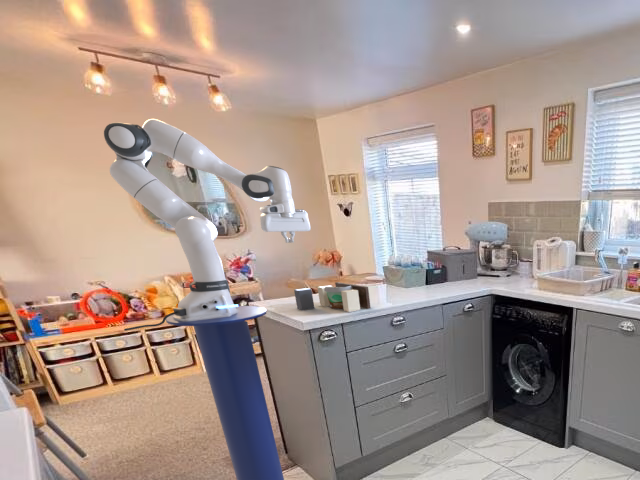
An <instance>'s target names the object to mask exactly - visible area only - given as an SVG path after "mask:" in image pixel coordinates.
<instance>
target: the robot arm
mask: <svg viewBox="0 0 640 480" xmlns="http://www.w3.org/2000/svg"><path fill="white" fill-rule="evenodd" d="M103 138H104V141H105V143H106V144H107V145H108V147H109V148H110V149H111V150H112V151H113V152H114V153H115V156H116V159H115V160H114V161H113V162H112V163H111V164H110V167H109V174H110V175H111V177H112V178H113V180H115V182H116V183H117V184H118V186H120V187H121V188H122V189H123V190H124V191H125V192H126V193H127V194H129V195H130V196H131V197H132V198H133V199H135V200H136V201H137V202H138V203H139V204H140V205H142V206H143V207H144V208H145V209H147V211H149V212H150V213H152V214H153V215H154V216H156V217H157V218H159V219H161V220H162V221H164V222H165V223H167V224H168V225H170V226H171V227H172V228H173V229H174V232H175V235H176V237H177V238H178V240H179V243H180V246H181V249H182V251H183V252H184V255H185V257H186V259H187V262H188V266H189V269H190V271H191V272H190V273H191V276H192V279H193V281H192V282H185V283H184V287H186V289H187V288H188V289H189V290H190V292H188V293H187V294H186V295H185V296H184V297H183V298H181V300H180V301H179V302H178V305H177V307H176V308H175V307H174V308H173V309H172V310H173V312H170V313H168V314H166V315H165V316H164V317H163V318H162V321H160V322H159V323H158V322H157V323H153V324H142V325H138V326H131V327H127V328H123V330H124V332H127V331H132V330H137V329H141V328H149V327H159V326H161V325H163V324H164V323H165V322H166V318H167V317H169V316H171V315H174V314H175V315H174V316H173V319H174V320H177V321H182V322H189V321H198V320H206V319H214V318H222V317H230V316H232V315H233V314H236V313H238V311H237V309H236V307H238V306H239V304H235V303H234V301H233V298H232V296H231V291H230V284H229V282H228V279H226V275H225V271H224V267H223V263H222V259H221V257H220V255H219V253H218V250H217V247H216V244H215V241H216V240H217V238H218V230H217V227H216V226H215V224H214V223H213V222H212V221H211V220H210V219H208V218H207V217H206V216H204V215H203V214H202V213H201V212H199V211H198V210H197V209H196V208H194V207H193V206H191V204H189V203H187V202H186V201H185V200H183V198H181V197H180V196H179V195H178V194H176V193H175V192H174V191H173V190H171V189H170V188H169V187H168V186H167V185H166V184H164V182H162V181H161V180H160V179H158V178H157V177H156V176H155V175H154V174H152V172H150V171H149V170H148V166H149V164H150V162H151V161H152V158H153V153H158V154H163V155H165V156H167V157H168V158H171V159H172V160H174V161H176V162H178V163H180V164H182V165H185V166H187V167H189V168H191V169H195V170H198V171H201V172H205V173H209V174H212V175H214V176H217V177H219V178H220V179H223V180H225V181H226V182H229V183H230V184H231V185H234V186H236V187H238V188H239V189H240V190H242V191H243V192H244V193H245V194H246V195H247V197H249V198H250V199H251V200H252V201H255V202H259V203H263V202H266V201H268V200H270V204H267V205H264V206H261V207H260V208H259V211H260V213H261V214H260V217H259V222H260V228H261V230H262V231H263V232H265V233H273V232H274V233H278V232H279V233H280V234H281V236H282V237H283V239H284V242H285V243H286V244H288V243H289V244H290V243H291V244H292V243H293V244H294V243H295V240H294V238H295V235H296V232H310V231H311V229H312V228H311V223H310V219H309V214H308V211H306V210H305V209H302V208H301V209H299V208H296V207H295V201H294V199H293V194H292V192H293V190H292V184H291V180H290V176H289V174H288V172H287V170H285V169H283V168H281V167H280V166H279V167H278V166H274V165H266V166H265V167H264V168H263V169H261V170H259V171H256V172H254V173H253V172H252V173H250V174H247V173H245V172H243V171H241V170H239V169H237V168H236V167H234V166H232V165H231V164H228V163H226V162H225V161H224V160H222V159H221V158H219V157H218V156H217V155H216V154H215V153H214V152H213V151H211V149H210V148H208V146H206V145H205V144H204V143H202V142H201V141H200V140H199V139H197V138H196V137H194V136H193V135H190V134H189V133H187V132H186V131H184V130H181V129H180V128H178V127H176V126H174V125H171V124H169V123H167V122H165V121H161V120H159V119H156V118H150V119H147V120H146V121H145V122H144V123H143V125H142V126H140V125H139V124H135V123H126V122H117V121H116V122H111V123H108V124H107V125H106V126H105V127H104V130H103ZM288 233H289V237H288V236H287V235H288Z"/></svg>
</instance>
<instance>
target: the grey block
mask: <svg viewBox="0 0 640 480" xmlns="http://www.w3.org/2000/svg"><path fill="white" fill-rule="evenodd" d="M293 291H294V292H293V293H294V298H295V303H296V308H297V310H300V311H307V310H313V309H315V302H314V297H313V291H312V288H309V287H308V288H307V287H306V288H298V289H297V288H296V289H293Z"/></svg>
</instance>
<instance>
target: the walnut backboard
mask: <svg viewBox="0 0 640 480" xmlns="http://www.w3.org/2000/svg"><path fill="white" fill-rule="evenodd" d="M334 284H335V285H334V286H335V287H348V286H350V285H351V286H352V289H353V290H358V295H359V303H360V308H362V309H367V310H369V309H371V299H370V292H369V290H370V289H369V286H365V285H359V284H353V283H347V282H346V283H345V282H339V281H338V282H334Z"/></svg>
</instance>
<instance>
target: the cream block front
mask: <svg viewBox="0 0 640 480" xmlns="http://www.w3.org/2000/svg"><path fill="white" fill-rule="evenodd" d="M341 294H342V301H343V308H344V309H343V311H344V312H347V313H350V312H351V313H352V312H356V311H357V312H358V311H361V307H360V303H359V295H358V290H353V289H352V290H345V291H341Z"/></svg>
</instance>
